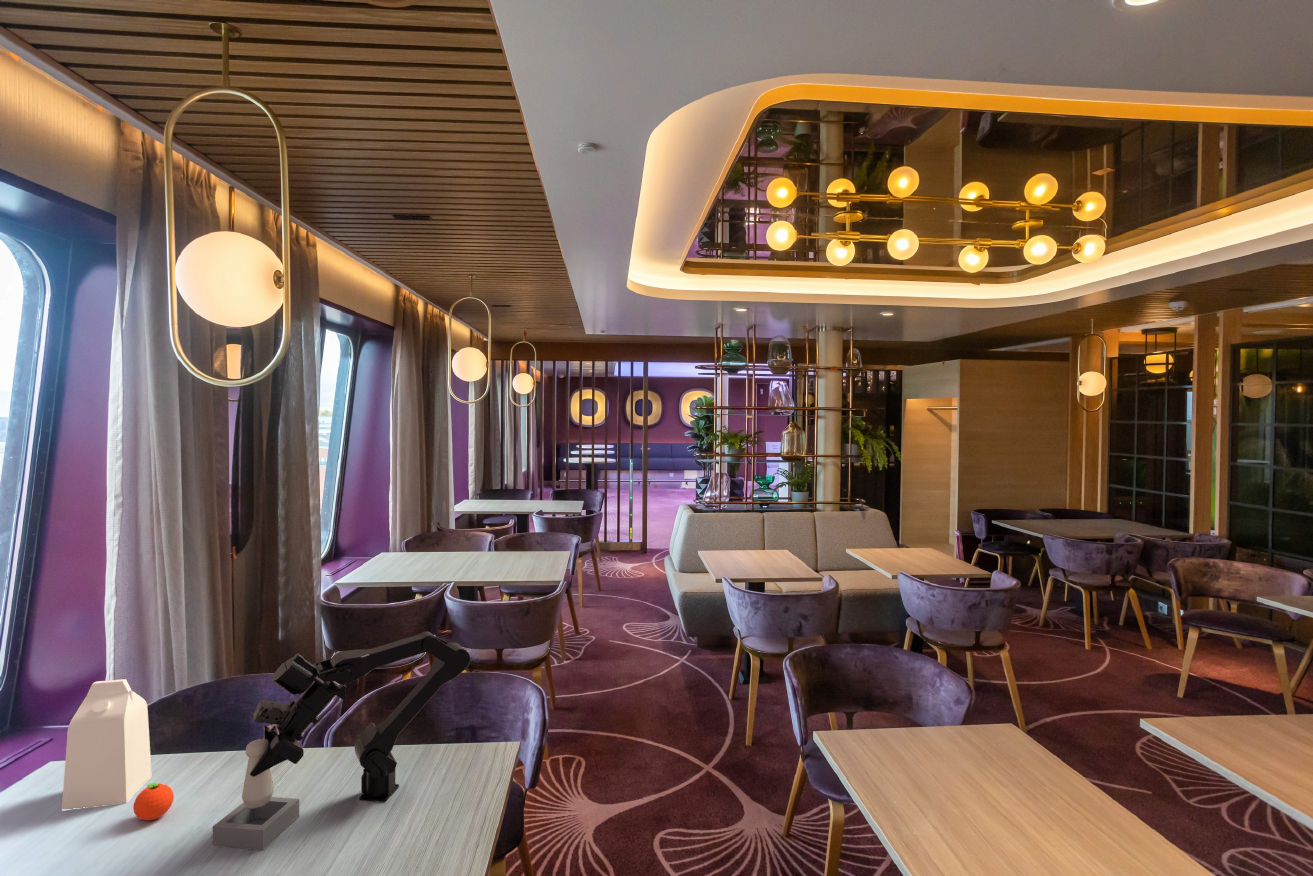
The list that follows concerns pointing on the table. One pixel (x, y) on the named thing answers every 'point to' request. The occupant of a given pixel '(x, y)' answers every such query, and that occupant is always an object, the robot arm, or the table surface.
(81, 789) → the milk
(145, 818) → the clementine
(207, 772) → the table surface
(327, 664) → the robot arm
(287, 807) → the well block
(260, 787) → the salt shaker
